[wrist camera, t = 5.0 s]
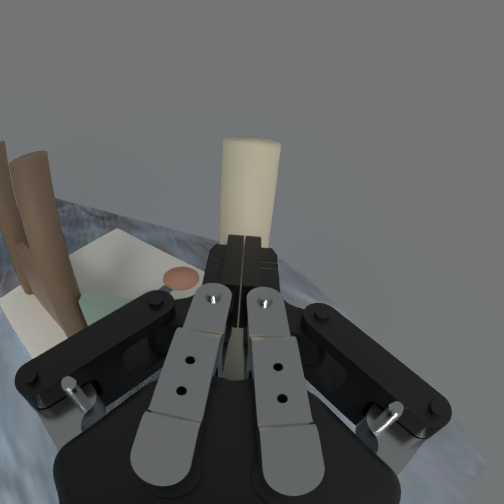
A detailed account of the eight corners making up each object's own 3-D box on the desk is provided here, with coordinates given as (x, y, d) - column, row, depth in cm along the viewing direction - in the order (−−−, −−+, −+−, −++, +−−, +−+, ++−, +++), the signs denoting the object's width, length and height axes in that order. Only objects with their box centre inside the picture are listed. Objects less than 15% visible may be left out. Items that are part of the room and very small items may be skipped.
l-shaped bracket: (97, 360, 21) (31, 152, 11) (106, 337, 23) (57, 139, 14) (250, 382, 21) (283, 151, 12) (251, 355, 23) (278, 139, 14)
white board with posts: (-1, 304, 25) (-50, 162, 15) (118, 231, 40) (106, 109, 30) (84, 423, 17) (-36, 213, 7) (231, 289, 32) (242, 119, 22)
